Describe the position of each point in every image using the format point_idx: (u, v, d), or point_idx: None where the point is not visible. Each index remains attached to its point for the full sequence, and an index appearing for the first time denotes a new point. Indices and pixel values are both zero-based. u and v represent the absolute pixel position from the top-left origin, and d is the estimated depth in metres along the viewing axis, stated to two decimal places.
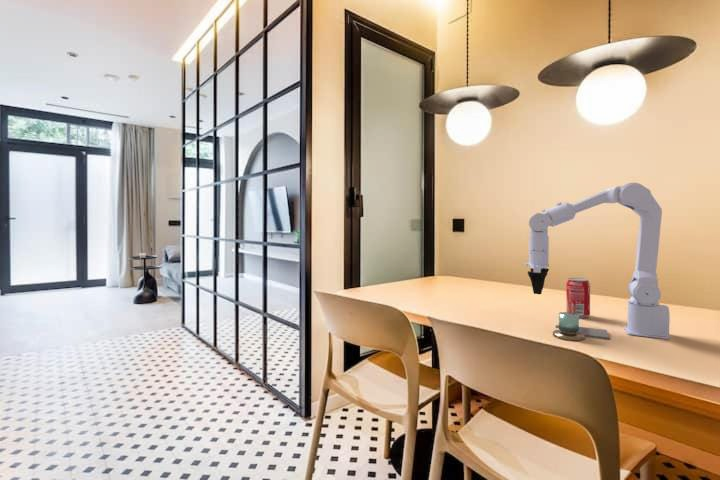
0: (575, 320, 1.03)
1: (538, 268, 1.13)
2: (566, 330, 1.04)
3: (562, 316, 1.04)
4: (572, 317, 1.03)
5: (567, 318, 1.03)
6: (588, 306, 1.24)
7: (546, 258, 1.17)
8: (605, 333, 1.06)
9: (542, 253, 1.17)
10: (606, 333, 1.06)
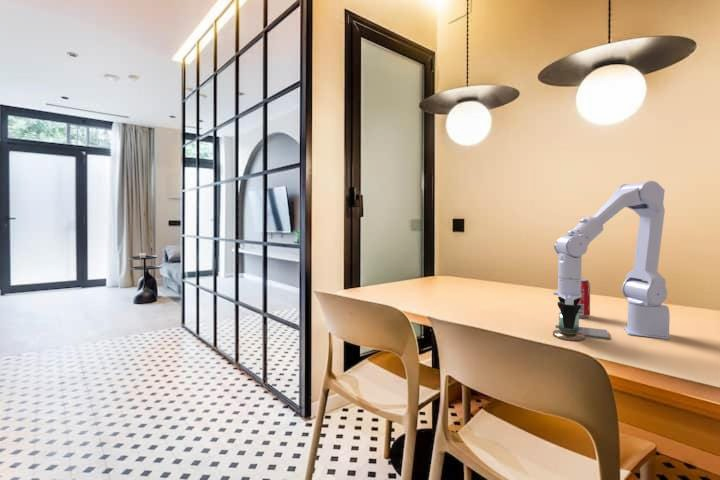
0: (575, 320, 1.03)
1: (571, 300, 0.98)
2: (566, 330, 1.04)
3: None
4: None
5: None
6: (588, 306, 1.24)
7: (579, 287, 1.02)
8: (605, 333, 1.06)
9: (574, 282, 1.02)
10: (606, 333, 1.06)
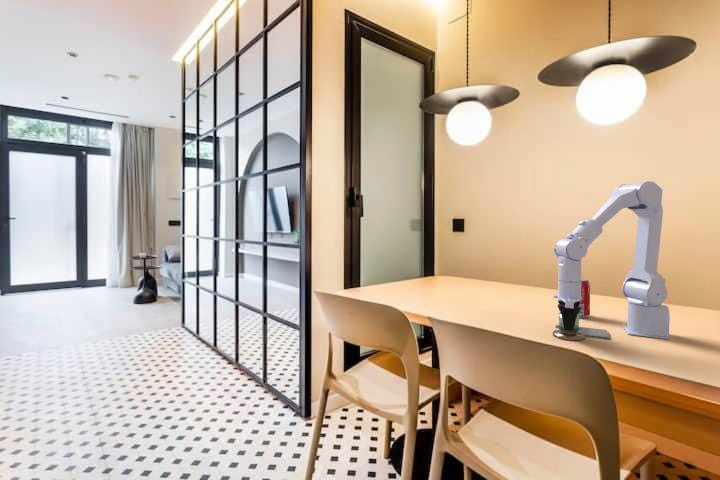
0: None
1: (571, 303, 0.98)
2: (566, 330, 1.04)
3: None
4: None
5: None
6: (588, 306, 1.24)
7: (579, 290, 1.02)
8: (605, 333, 1.06)
9: (574, 285, 1.02)
10: (606, 333, 1.06)
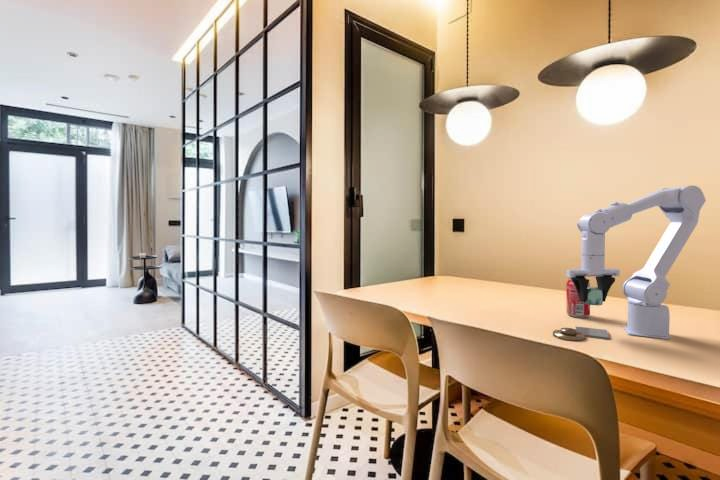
0: (589, 293, 1.05)
1: (568, 272, 1.06)
2: None
3: None
4: None
5: None
6: (588, 306, 1.24)
7: (592, 264, 1.04)
8: (605, 333, 1.06)
9: (586, 257, 1.05)
10: (606, 333, 1.06)
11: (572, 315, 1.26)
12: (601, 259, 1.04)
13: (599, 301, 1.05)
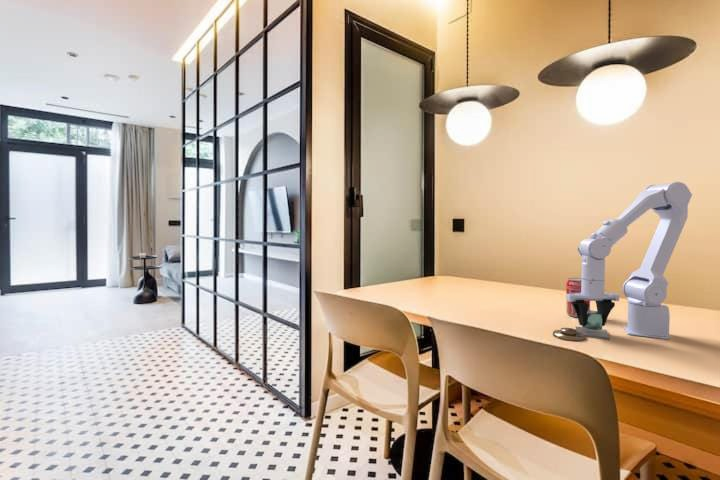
0: (589, 318, 1.06)
1: (568, 296, 1.07)
2: None
3: None
4: None
5: None
6: None
7: (592, 289, 1.05)
8: (605, 333, 1.06)
9: (586, 282, 1.06)
10: (606, 333, 1.06)
11: (572, 315, 1.26)
12: (601, 284, 1.04)
13: (599, 326, 1.05)
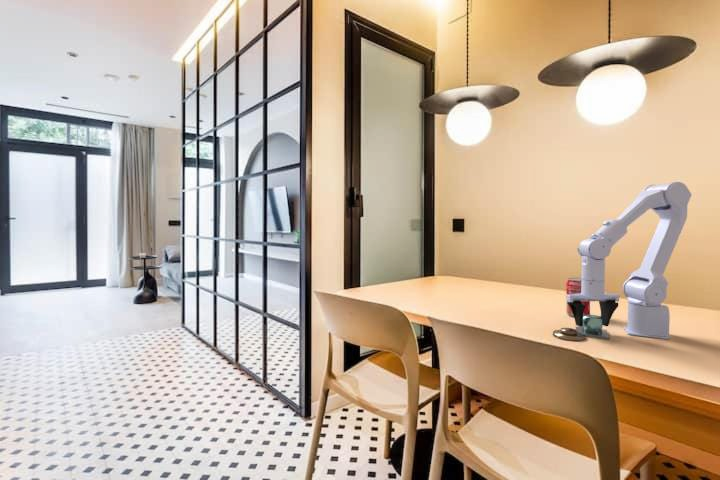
0: (589, 322, 1.06)
1: (568, 297, 1.07)
2: (582, 330, 1.08)
3: None
4: (586, 318, 1.07)
5: (583, 318, 1.08)
6: (588, 306, 1.24)
7: (592, 289, 1.05)
8: (605, 333, 1.06)
9: (586, 283, 1.06)
10: (606, 333, 1.06)
11: (572, 315, 1.26)
12: (601, 285, 1.04)
13: (599, 330, 1.05)
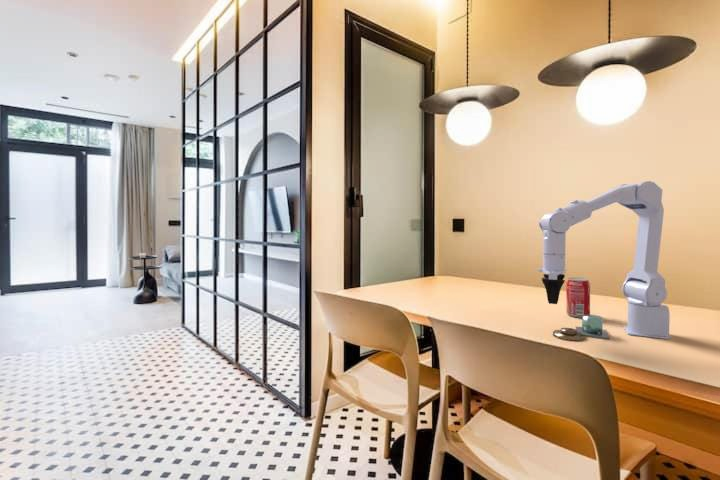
0: (589, 322, 1.06)
1: (554, 274, 0.99)
2: (582, 329, 1.08)
3: None
4: (586, 318, 1.07)
5: (583, 318, 1.08)
6: (588, 306, 1.24)
7: (563, 263, 1.03)
8: (605, 333, 1.06)
9: (558, 257, 1.03)
10: (606, 333, 1.06)
11: (572, 315, 1.26)
12: None
13: (599, 330, 1.05)
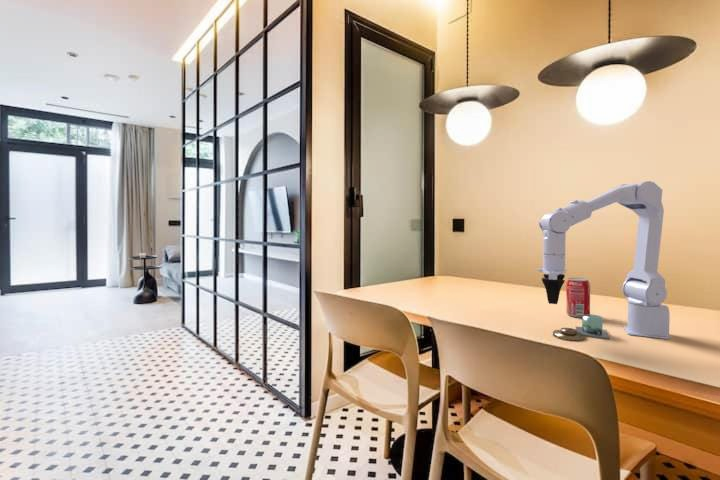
0: (589, 322, 1.06)
1: (554, 274, 0.99)
2: (582, 329, 1.08)
3: None
4: (586, 318, 1.07)
5: (583, 318, 1.08)
6: (588, 306, 1.24)
7: (563, 263, 1.03)
8: (605, 333, 1.06)
9: (558, 257, 1.03)
10: (606, 333, 1.06)
11: (572, 315, 1.26)
12: None
13: (598, 330, 1.05)
